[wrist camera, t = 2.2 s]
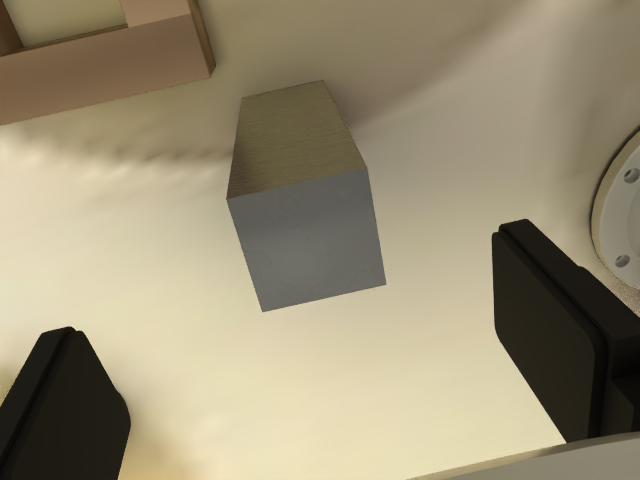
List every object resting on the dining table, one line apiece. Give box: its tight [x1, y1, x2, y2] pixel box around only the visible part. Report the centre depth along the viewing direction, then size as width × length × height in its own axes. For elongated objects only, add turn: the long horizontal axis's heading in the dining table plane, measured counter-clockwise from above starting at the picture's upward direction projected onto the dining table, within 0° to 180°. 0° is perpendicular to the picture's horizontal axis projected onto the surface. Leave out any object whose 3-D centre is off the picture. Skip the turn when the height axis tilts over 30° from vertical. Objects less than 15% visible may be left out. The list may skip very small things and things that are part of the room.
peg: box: [226, 80, 386, 312], centre depth 20 cm, size 4×4×12 cm
